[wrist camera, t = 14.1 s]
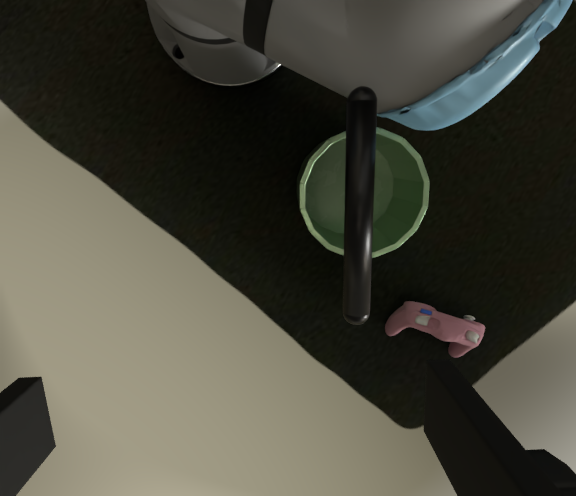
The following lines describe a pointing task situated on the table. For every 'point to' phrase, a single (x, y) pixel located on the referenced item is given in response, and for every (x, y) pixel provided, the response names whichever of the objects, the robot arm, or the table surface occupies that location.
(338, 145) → the bucket
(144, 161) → the table surface
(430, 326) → the video game controller
